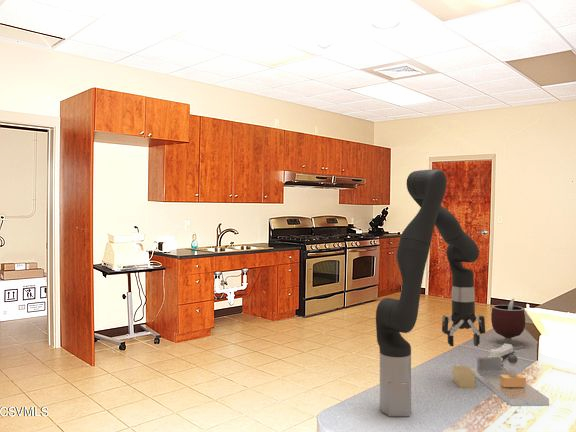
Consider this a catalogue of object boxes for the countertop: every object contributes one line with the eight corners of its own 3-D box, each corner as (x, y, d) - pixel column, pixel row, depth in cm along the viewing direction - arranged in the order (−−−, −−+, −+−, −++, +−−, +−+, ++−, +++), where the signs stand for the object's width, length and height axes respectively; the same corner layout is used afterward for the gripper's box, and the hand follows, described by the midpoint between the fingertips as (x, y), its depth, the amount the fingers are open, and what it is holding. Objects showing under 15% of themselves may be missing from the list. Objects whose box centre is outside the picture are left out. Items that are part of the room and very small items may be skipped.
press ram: (525, 387, 153) (525, 355, 153) (504, 387, 153) (504, 355, 153) (521, 383, 156) (520, 353, 156) (500, 383, 156) (499, 353, 156)
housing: (475, 388, 158) (475, 373, 158) (460, 388, 158) (460, 373, 159) (466, 380, 166) (466, 366, 166) (452, 380, 166) (452, 366, 167)
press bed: (549, 405, 144) (548, 385, 144) (510, 405, 144) (510, 385, 144) (503, 372, 174) (503, 356, 174) (470, 372, 174) (470, 356, 174)
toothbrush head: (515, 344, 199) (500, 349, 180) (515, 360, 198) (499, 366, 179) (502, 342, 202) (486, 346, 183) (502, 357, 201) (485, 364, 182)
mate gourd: (520, 351, 200) (520, 305, 200) (487, 346, 209) (486, 301, 210) (530, 344, 212) (529, 300, 212) (497, 339, 221) (497, 296, 221)
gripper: (446, 301, 159) (447, 349, 159) (488, 300, 159) (488, 348, 159) (439, 297, 166) (439, 343, 166) (479, 296, 166) (479, 342, 166)
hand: (463, 345), depth 163 cm, fingers open, 8 cm apart
